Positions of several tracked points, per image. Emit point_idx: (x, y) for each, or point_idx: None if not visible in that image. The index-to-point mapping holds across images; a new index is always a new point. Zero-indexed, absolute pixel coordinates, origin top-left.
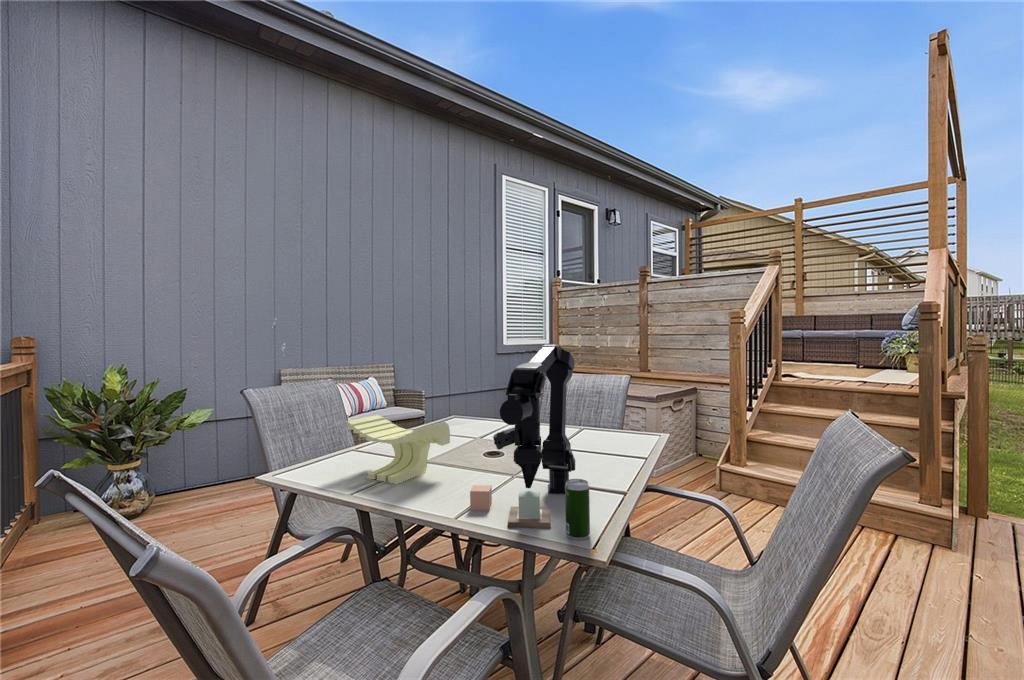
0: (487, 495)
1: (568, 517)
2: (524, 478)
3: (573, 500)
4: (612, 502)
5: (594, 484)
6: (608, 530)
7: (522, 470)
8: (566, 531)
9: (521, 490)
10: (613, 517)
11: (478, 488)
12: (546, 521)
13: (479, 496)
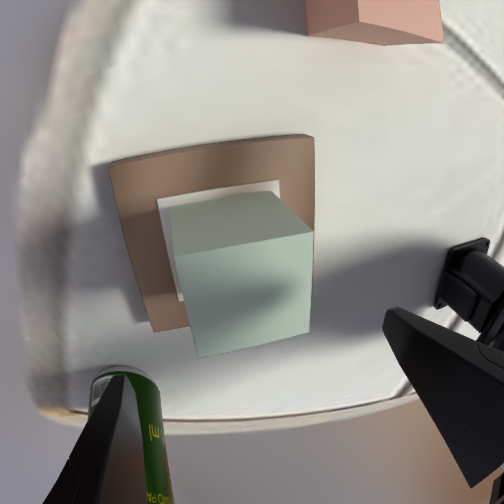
0: (344, 15)
1: None
2: (81, 439)
3: None
4: (358, 396)
5: (461, 334)
6: (184, 426)
7: (45, 502)
8: (102, 378)
9: (303, 244)
10: (267, 420)
11: None
12: (160, 319)
13: None
